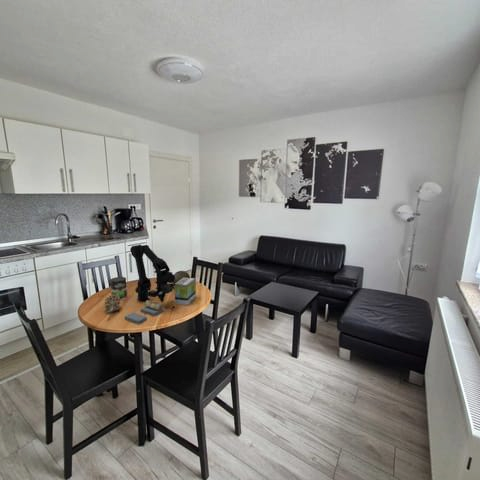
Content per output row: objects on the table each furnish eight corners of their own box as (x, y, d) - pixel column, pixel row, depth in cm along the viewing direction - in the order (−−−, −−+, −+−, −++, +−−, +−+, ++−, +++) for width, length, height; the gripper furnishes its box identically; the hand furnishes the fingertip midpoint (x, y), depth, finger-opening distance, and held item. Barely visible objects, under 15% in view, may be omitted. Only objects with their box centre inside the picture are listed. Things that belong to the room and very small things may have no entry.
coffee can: (128, 298, 183) (127, 279, 181) (113, 301, 177) (111, 282, 175) (125, 293, 191) (124, 275, 189) (110, 296, 185) (108, 278, 183)
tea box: (188, 305, 172) (187, 284, 170) (174, 304, 174) (173, 283, 172) (196, 297, 187) (195, 277, 184) (183, 295, 189) (183, 276, 186)
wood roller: (149, 305, 167) (149, 299, 167) (161, 308, 162) (161, 302, 162) (144, 307, 164) (144, 301, 163) (156, 311, 159) (156, 305, 158)
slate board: (150, 306, 169) (150, 304, 169) (164, 310, 164) (163, 308, 163) (124, 319, 152) (124, 316, 152) (138, 324, 146) (138, 321, 146)
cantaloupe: (171, 287, 205) (170, 269, 202) (188, 285, 211) (187, 267, 208) (174, 293, 192) (173, 274, 190) (192, 291, 198) (192, 272, 196)
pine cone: (106, 306, 169) (105, 292, 168) (121, 304, 173) (120, 290, 171) (101, 321, 149) (100, 305, 147) (119, 319, 152) (118, 303, 151)
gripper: (159, 286, 155) (160, 310, 158) (180, 278, 171) (180, 299, 174) (146, 283, 160) (147, 306, 163) (167, 275, 177) (168, 296, 179)
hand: (162, 302), depth 170 cm, fingers closed
